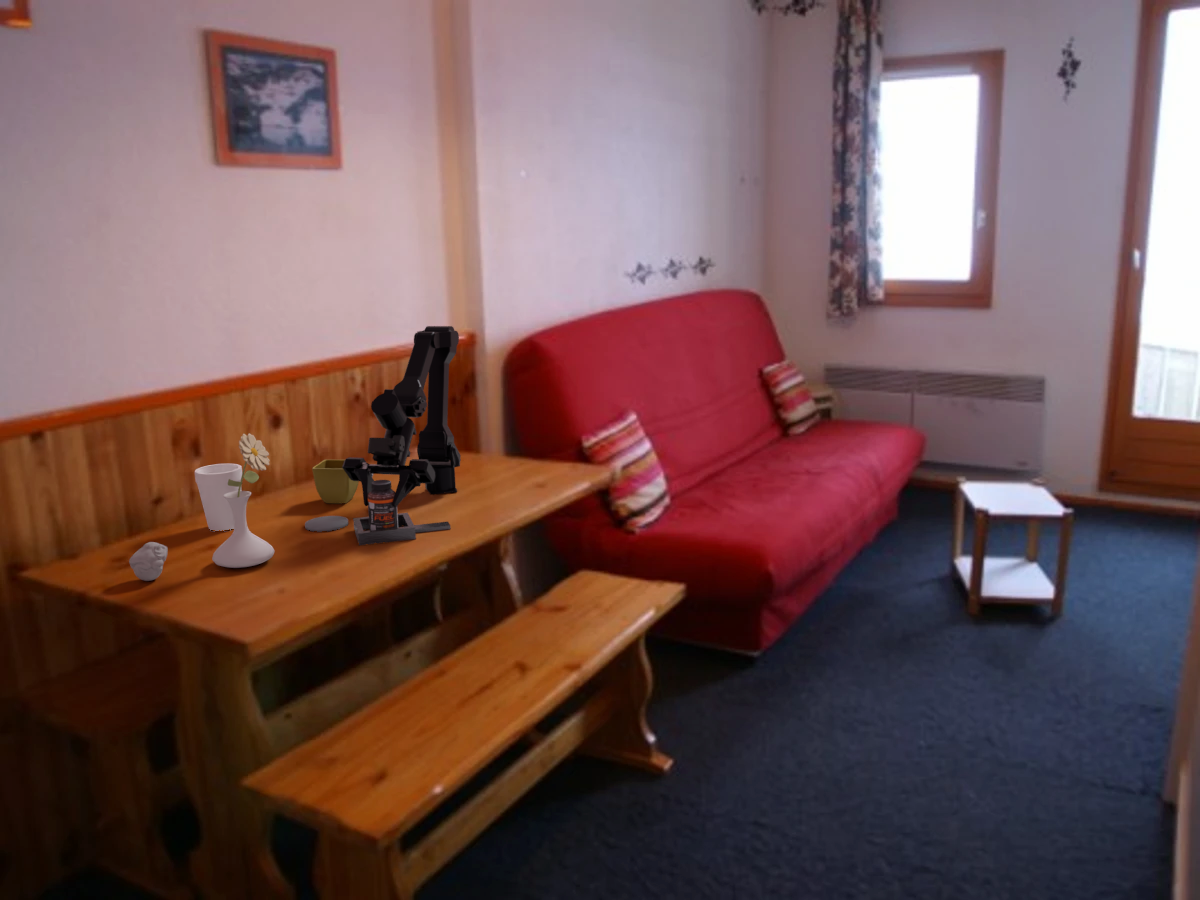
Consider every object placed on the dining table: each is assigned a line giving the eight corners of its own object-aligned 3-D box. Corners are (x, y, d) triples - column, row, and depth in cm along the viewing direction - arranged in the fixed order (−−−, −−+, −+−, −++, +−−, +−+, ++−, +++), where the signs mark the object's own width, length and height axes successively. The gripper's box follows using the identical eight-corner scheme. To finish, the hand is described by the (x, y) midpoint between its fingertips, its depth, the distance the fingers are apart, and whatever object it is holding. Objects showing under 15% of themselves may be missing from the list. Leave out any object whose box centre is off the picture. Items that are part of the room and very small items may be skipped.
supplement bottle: (374, 540, 212) (370, 487, 209) (366, 532, 217) (362, 480, 214) (402, 535, 214) (399, 483, 212) (394, 528, 219) (390, 476, 217)
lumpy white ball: (177, 578, 192) (172, 542, 190) (140, 588, 187) (135, 551, 185) (161, 571, 196) (157, 535, 194) (125, 581, 191) (120, 545, 189)
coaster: (346, 517, 228) (346, 514, 228) (350, 529, 220) (349, 525, 220) (304, 522, 225) (304, 518, 225) (306, 533, 217) (305, 530, 217)
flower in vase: (240, 577, 192) (226, 445, 186) (200, 567, 198) (185, 439, 192) (294, 556, 203) (283, 432, 197) (255, 547, 209) (243, 426, 203)
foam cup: (256, 523, 225) (251, 465, 222) (225, 535, 217) (218, 475, 214) (223, 519, 229) (217, 462, 226) (191, 530, 221) (184, 471, 218)
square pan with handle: (444, 519, 225) (444, 508, 224) (454, 534, 214) (453, 523, 214) (354, 529, 219) (353, 518, 219) (359, 545, 209) (358, 533, 208)
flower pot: (363, 496, 245) (361, 459, 243) (351, 506, 237) (348, 468, 235) (327, 496, 246) (324, 459, 244) (314, 506, 238) (311, 468, 236)
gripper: (342, 420, 216) (322, 484, 208) (427, 421, 212) (410, 487, 204) (361, 448, 225) (343, 511, 217) (442, 450, 221) (427, 514, 213)
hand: (379, 505), depth 213 cm, fingers closed on supplement bottle, 6 cm apart
